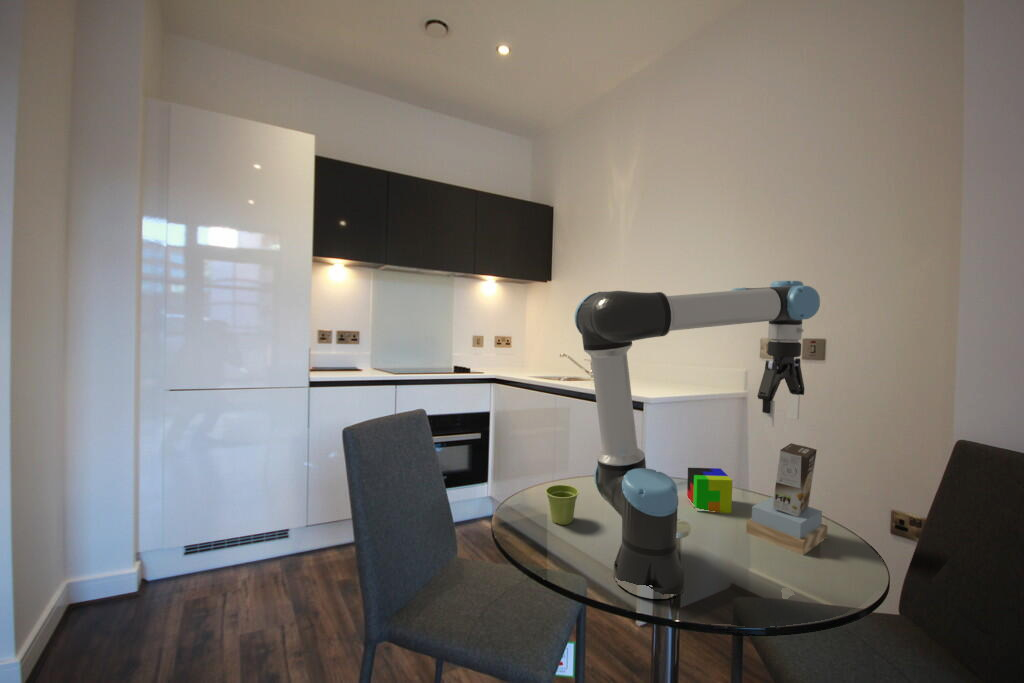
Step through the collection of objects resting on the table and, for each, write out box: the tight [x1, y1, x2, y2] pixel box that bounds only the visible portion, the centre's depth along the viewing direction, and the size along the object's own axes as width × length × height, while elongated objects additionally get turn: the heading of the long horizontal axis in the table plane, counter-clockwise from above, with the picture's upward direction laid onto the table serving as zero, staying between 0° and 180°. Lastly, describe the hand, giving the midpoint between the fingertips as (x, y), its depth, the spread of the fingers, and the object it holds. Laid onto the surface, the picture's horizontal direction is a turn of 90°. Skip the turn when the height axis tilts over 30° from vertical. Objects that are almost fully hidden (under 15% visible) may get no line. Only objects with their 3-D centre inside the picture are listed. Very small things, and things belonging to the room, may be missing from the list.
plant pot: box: [544, 484, 580, 526], centre depth 133 cm, size 9×9×9 cm
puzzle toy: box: [686, 467, 733, 514], centre depth 143 cm, size 10×10×10 cm
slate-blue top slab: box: [751, 495, 823, 539], centre depth 123 cm, size 12×12×4 cm
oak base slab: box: [745, 517, 828, 556], centre depth 124 cm, size 14×14×4 cm
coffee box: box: [772, 442, 818, 517], centre depth 122 cm, size 9×6×16 cm
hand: (780, 421), depth 122 cm, fingers open, 13 cm apart
